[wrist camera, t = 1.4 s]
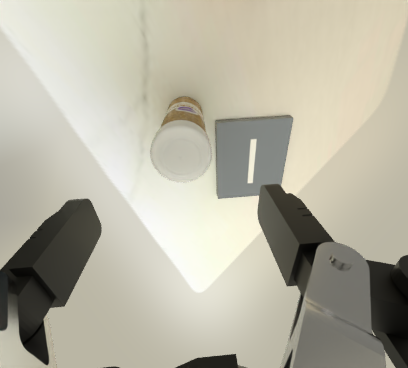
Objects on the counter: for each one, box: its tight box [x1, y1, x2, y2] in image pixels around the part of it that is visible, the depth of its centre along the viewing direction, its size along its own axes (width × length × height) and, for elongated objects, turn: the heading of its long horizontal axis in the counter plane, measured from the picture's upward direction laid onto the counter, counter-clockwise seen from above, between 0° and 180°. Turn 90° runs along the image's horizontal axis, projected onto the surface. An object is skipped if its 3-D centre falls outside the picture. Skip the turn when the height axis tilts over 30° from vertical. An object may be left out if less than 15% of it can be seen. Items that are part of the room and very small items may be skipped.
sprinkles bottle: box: [150, 97, 212, 182], centre depth 20 cm, size 5×5×14 cm
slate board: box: [216, 116, 293, 199], centre depth 29 cm, size 12×10×1 cm
